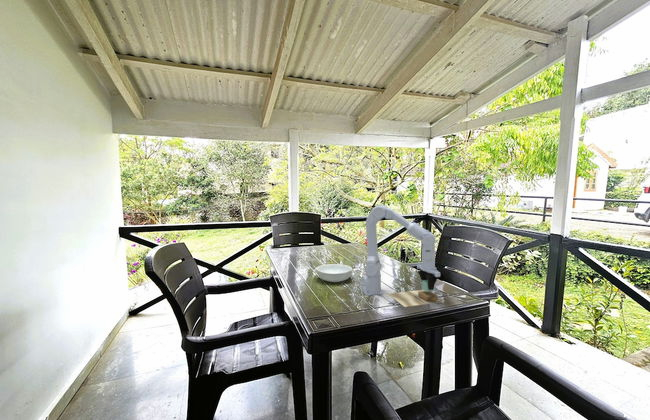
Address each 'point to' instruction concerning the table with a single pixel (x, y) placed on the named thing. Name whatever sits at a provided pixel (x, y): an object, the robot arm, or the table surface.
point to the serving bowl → (334, 272)
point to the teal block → (425, 286)
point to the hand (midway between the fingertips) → (427, 287)
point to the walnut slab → (428, 296)
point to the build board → (410, 298)
